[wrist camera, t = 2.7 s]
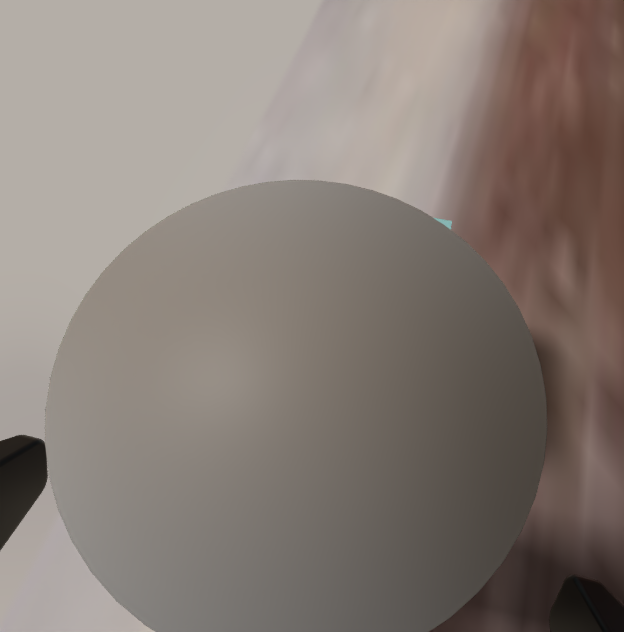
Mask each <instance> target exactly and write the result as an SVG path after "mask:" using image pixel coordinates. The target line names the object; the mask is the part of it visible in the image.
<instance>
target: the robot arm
mask: <svg viewBox="0 0 624 632" xmlns="http://www.w3.org/2000/svg"><path fill="white" fill-rule="evenodd" d="M47 476H48V475H47V456H46V448H45V442H44V441H43V440H41V439H39V438H34V437H31V436H27V435H18V436H15V437H12V438H9V439H5V440H2V441H0V550H1V549H2V548H3V546H4V545H5V543H6V542H7V541H8V539H9V538H10V536H11V535H12V533H13V532H14V531H15V529H16V528H17V526H18V525H19V524H20V522H21V521H22V519H23V518H24V517H25V515H26V514H27V512H28V511H29V510H30V508H31V507H32V505H33V504H34V502H35V501H36V500H37V498H38V497H39V495H40V494H41V493H42V491H43V489H44V487H45V485H46V482H47ZM549 621H550V632H624V606H623V605H622V604H621V603H620V602H619V601H618V600H617V599H616V598H615V597H614V596H613V595H612V594H611V593H610V592H609V591H608V590H607V589H606V588H605V587H604V586H603V585H602V584H601V583H600V582H598V581H596V580H594V579H590V578H586V577H582V576H578V575H569V576H568V577H567V578H566V579H565V581H564V583H563V585H562V587H561V589H560V592H559V594H558V596H557V598H556V600H555V602H554V604H553V606H552V609H551V612H550V619H549Z"/></svg>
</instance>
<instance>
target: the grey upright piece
mask: <svg viewBox="0 0 624 632" xmlns="http://www.w3.org/2000/svg"><path fill="white" fill-rule="evenodd" d="M546 437H547V407H546V393H545V387H544V382H543V376H542V370H541V365H540V362H539V358H538V355H537V352H536V349H535V345H534V342H533V339H532V336H531V334H530V332H529V329H528V327H527V325H526V323H525V321H524V318H523V316H522V314H521V312H520V310H519V308H518V306H517V305H516V303H515V301H514V300H513V298H512V296H511V295H510V293H509V292H508V290H507V288H506V287H505V285H504V284H503V282H502V281H501V280H500V279H499V277H498V276H497V275H496V274H495V272H494V271H493V270H492V269H491V267H490V266H489V265H488V264H487V262H486V261H485V260H484V259H483V258H482V257H481V256H480V255H479V254H478V253H477V252H476V251H475V250H474V249H473V248H472V247H471V246H470V245H469V244H468V243H467V242H465V241H464V240H463V239H462V238H460V237H459V236H458V235H457V234H455V233H454V232H453V231H451V230H450V229H449V228H448V227H446V226H445V225H444V224H442V223H440V222H439V221H437V220H436V219H434V218H432V217H431V216H429V215H428V214H426V213H424V212H423V211H421V210H419V209H417V208H415V207H413V206H411V205H408V204H406V203H404V202H402V201H400V200H398V199H395V198H393V197H390V196H387V195H384V194H381V193H378V192H376V191H373V190H369V189H365V188H361V187H356V186H352V185H348V184H341V183H334V182H326V181H312V180H288V181H275V182H265V183H259V184H254V185H248V186H243V187H239V188H235V189H232V190H228V191H225V192H221V193H218V194H215V195H213V196H210V197H208V198H205V199H203V200H200V201H198V202H195V203H193V204H191V205H189V206H187V207H185V208H183V209H181V210H179V211H177V212H176V213H173V214H172V215H170V216H168V217H166V218H165V219H163V220H162V221H160V222H159V223H157V224H156V225H154V226H153V227H151V228H150V229H148V230H147V231H145V232H144V233H143V234H142V235H141V236H139V237H138V238H137V239H136V240H135V241H133V242H132V243H131V244H130V245H129V246H128V247H126V248H125V249H124V250H123V251H122V252H121V253H120V254H119V255H118V256H117V257H116V258H115V259H114V260H113V262H111V264H110V265H109V266H108V267H107V268H106V269H105V270H104V271H103V272H102V274H101V275H100V276H99V278H98V279H97V280H96V282H95V283H94V284H93V286H92V287H91V288H90V290H89V291H88V292H87V293H86V295H85V297H84V298H83V300H82V302H81V304H80V305H79V307H78V309H77V310H76V312H75V314H74V316H73V317H72V319H71V321H70V323H69V326H68V328H67V330H66V333H65V335H64V337H63V340H62V342H61V344H60V347H59V349H58V353H57V356H56V360H55V363H54V367H53V371H52V374H51V377H50V383H49V390H48V396H47V402H46V409H45V448H46V456H47V464H48V472H49V478H50V482H51V485H52V489H53V493H54V496H55V500H56V504H57V507H58V510H59V513H60V515H61V517H62V520H63V522H64V524H65V526H66V529H67V531H68V533H69V536H70V538H71V540H72V542H73V544H74V545H75V547H76V549H77V550H78V552H79V553H80V555H81V556H82V558H83V560H84V561H85V563H86V564H87V566H88V568H89V569H90V571H91V572H92V574H93V575H94V576H95V577H96V578H97V579H98V580H99V582H100V583H101V584H102V585H103V586H104V587H105V589H106V590H107V591H108V592H109V593H110V594H111V595H112V597H113V598H114V599H115V600H116V601H117V602H118V603H119V604H121V605H122V606H123V607H124V608H125V609H127V610H128V611H129V612H130V613H131V614H133V615H134V616H135V617H136V618H137V619H139V620H140V621H141V622H142V623H143V624H145V625H146V626H147V627H149V628H151V629H152V630H154V631H156V632H429V631H431V630H432V629H434V628H435V627H437V626H438V625H440V624H441V623H443V622H444V621H446V620H447V619H449V618H450V617H451V616H452V615H454V614H455V613H456V612H457V611H458V610H459V609H460V608H461V607H462V606H464V605H465V604H466V603H467V602H468V601H469V600H470V599H471V598H472V597H474V596H475V595H476V594H477V593H478V592H479V591H480V590H481V588H482V587H483V586H484V585H485V584H486V582H487V581H488V580H489V579H490V577H491V576H492V575H493V574H494V573H495V571H496V570H497V569H498V568H499V566H500V565H501V564H502V563H503V561H504V560H505V558H506V556H507V554H508V553H509V551H510V549H511V548H512V546H513V544H514V543H515V541H516V539H517V538H518V536H519V534H520V533H521V531H522V529H523V526H524V524H525V521H526V519H527V516H528V514H529V512H530V509H531V507H532V504H533V502H534V499H535V497H536V493H537V489H538V485H539V481H540V477H541V473H542V469H543V465H544V457H545V447H546Z"/></svg>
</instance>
